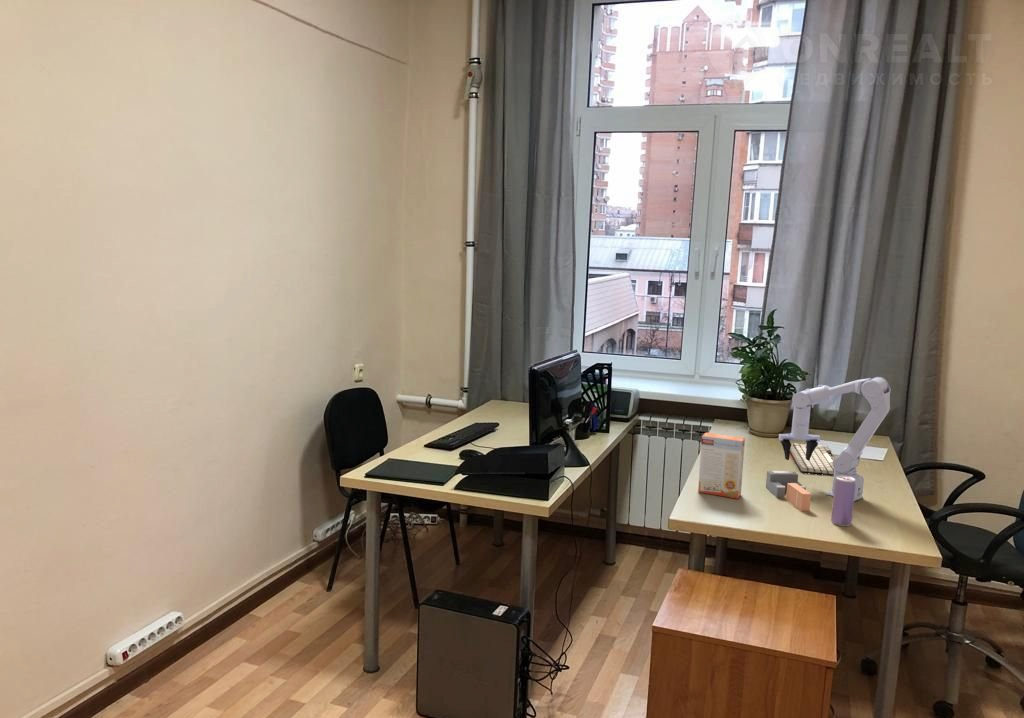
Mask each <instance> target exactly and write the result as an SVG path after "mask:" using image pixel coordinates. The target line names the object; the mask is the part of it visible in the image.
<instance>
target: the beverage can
mask: <svg viewBox="0 0 1024 718" xmlns="http://www.w3.org/2000/svg"><path fill="white" fill-rule="evenodd" d="M855 485H856V482H855V479H854V478H853V477H850V476H843V475H840V476H836V479H835V487H834V496H832V498H833V499H832V507H831V518H830V520H831V522H832V524H835V525H837V526H840V527H848V526H850V525H851V524H852V521H853V511H854V502H855V501H854V494H855Z"/></svg>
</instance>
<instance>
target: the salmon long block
mask: <svg viewBox="0 0 1024 718" xmlns="http://www.w3.org/2000/svg"><path fill="white" fill-rule="evenodd" d="M785 493H786V495H785V496H786V497H785V500H786V501H788V502H789V503H790V504H791V505H793V506H794V507H795V508H796V509H798V510H799V511H801V512H803V511H804V512H810V511H811V510H810V509H811V502H812V501H811V500H812V493H810V492H809V491H808V490H807V489H806V490H805V489H803V488H802V487H801V486H799V485H798V484H796V483H787V491H786V492H785ZM809 510H810V511H809Z"/></svg>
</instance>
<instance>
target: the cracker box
mask: <svg viewBox="0 0 1024 718" xmlns="http://www.w3.org/2000/svg"><path fill="white" fill-rule="evenodd" d="M745 441H746V437H743V436H742V437H741V436H736V435H735V436H733V435H728V434H726V435H725V434H719V433H713V432H705V433H703V435H701V442H700V443H701V445H700V458H699V473H698V489H697V492H698V493H700V494H701V493H702V494H708V495H713V496H714V495H715V496H719V497H720V496H721V497H726V498H731V499H739V497H740V496H741V495H742V485H743V471H744V459H745V458H744V457H745V445H746V444H745V443H746V442H745Z"/></svg>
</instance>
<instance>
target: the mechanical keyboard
mask: <svg viewBox="0 0 1024 718" xmlns="http://www.w3.org/2000/svg"><path fill="white" fill-rule="evenodd" d="M790 443H791V444H792V445H791V448H790V456H789V460H791V461H793V462H794V463H795V465H796V467H797V469H798V471H799V472H800V474H804V473H807V474H806V475H815V474H817V476H832V475H834V467H833V460H832V459H831V457H830V456H829V454H831V455H832V453H833V452H832V450H831V448H830V447H829V445H824V446H823V445H822V444H821V445H817V447H816V448H815V449H814V451H813V453H812V455H811V458H810V460H807V459H806V443H805V444H804V443H797V442H793V443H792V442H790ZM808 473H810V474H808ZM822 474H823V475H822Z"/></svg>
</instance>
